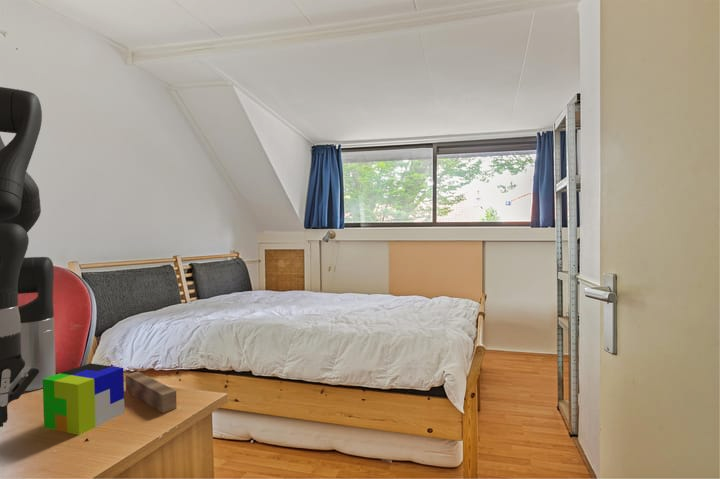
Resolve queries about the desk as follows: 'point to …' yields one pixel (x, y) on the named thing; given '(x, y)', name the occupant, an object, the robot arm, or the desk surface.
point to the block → (151, 391)
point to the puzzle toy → (83, 398)
